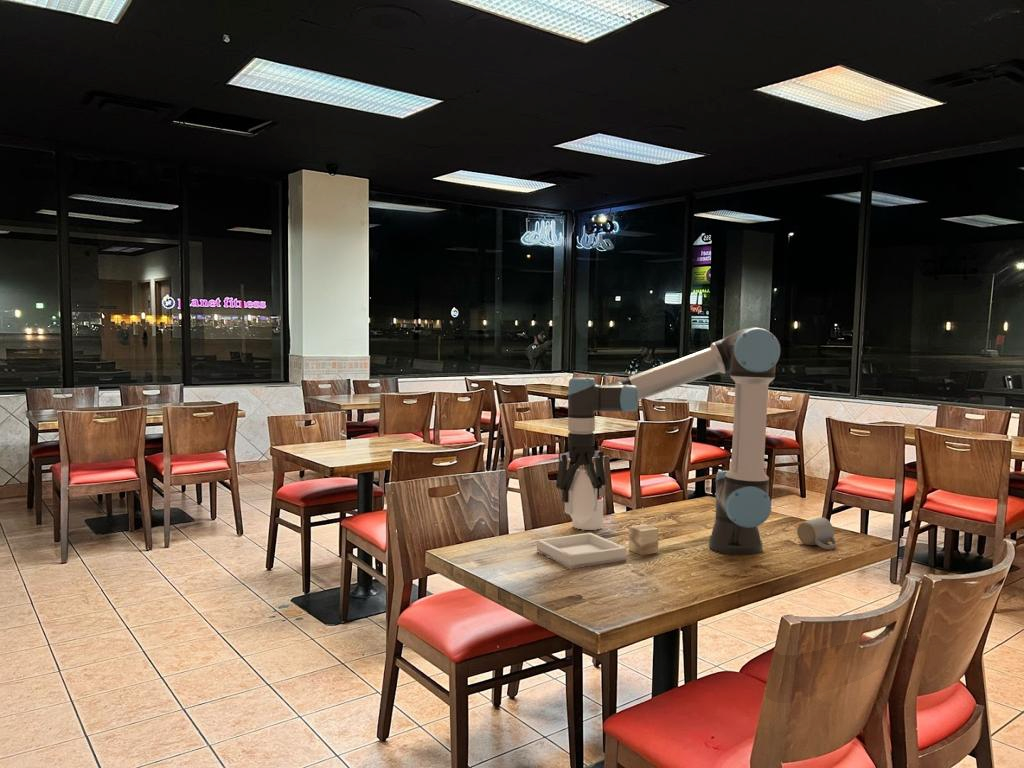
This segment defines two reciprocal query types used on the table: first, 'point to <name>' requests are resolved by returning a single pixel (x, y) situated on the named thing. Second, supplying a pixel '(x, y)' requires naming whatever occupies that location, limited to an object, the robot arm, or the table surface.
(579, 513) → the sauce bottle
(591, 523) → the cup
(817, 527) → the ceramic mug
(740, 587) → the table surface
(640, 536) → the birch block
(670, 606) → the table surface
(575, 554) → the tray
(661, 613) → the table surface
